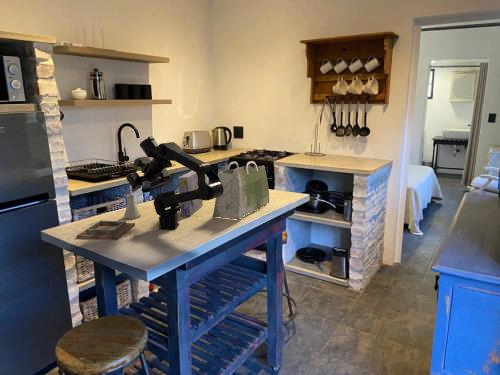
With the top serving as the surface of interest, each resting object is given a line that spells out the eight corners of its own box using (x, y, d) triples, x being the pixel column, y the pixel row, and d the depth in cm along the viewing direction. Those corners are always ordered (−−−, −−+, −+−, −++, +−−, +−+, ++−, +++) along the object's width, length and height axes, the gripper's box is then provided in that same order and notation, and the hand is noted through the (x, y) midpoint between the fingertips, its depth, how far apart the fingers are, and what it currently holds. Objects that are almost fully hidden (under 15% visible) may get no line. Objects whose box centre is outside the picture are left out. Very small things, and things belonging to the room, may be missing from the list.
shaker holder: (135, 225, 153) (134, 219, 152) (117, 239, 138) (116, 233, 137) (98, 224, 155) (97, 218, 154) (76, 238, 139) (75, 231, 139)
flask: (135, 219, 160) (134, 197, 158) (120, 219, 162) (118, 196, 159) (143, 214, 167) (142, 193, 165) (129, 214, 169) (127, 192, 166)
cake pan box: (194, 204, 183) (192, 169, 179) (204, 205, 182) (202, 169, 178) (179, 216, 165) (177, 177, 160) (190, 216, 164) (188, 177, 159)
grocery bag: (245, 200, 190) (245, 155, 185) (270, 203, 184) (270, 156, 179) (211, 217, 163) (209, 165, 157) (238, 221, 156) (237, 167, 151)
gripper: (164, 148, 157) (149, 171, 166) (126, 153, 142) (112, 178, 151) (178, 168, 154) (162, 190, 163) (141, 176, 139) (126, 200, 148)
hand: (141, 189), depth 156 cm, fingers open, 9 cm apart
